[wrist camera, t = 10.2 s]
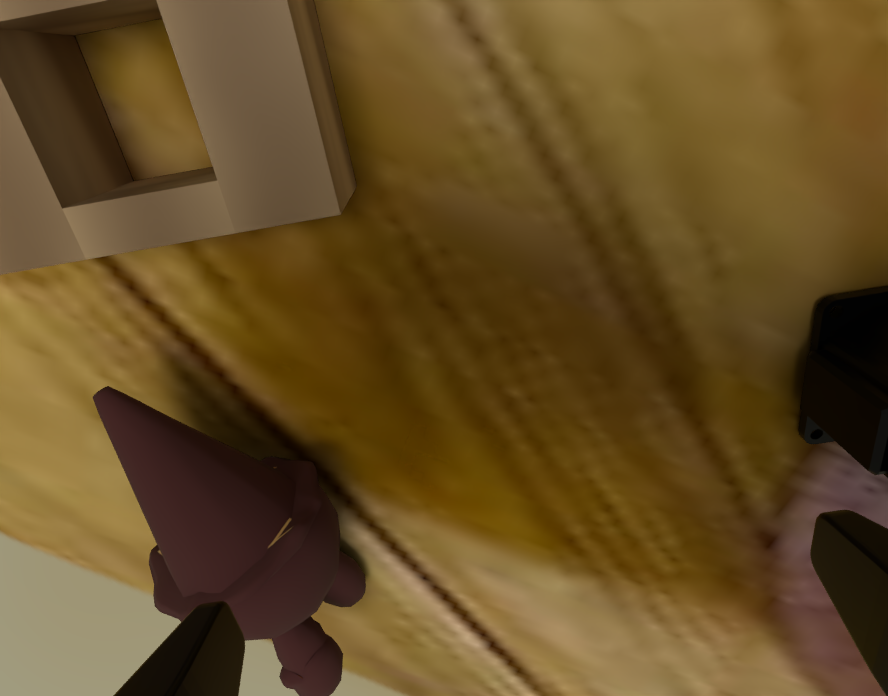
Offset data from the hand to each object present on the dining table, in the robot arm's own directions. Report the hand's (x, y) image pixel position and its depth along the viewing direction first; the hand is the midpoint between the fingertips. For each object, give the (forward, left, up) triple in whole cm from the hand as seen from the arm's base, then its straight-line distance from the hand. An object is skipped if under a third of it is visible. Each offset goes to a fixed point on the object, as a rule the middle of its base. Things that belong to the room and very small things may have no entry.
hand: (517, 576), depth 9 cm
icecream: (+10, +7, -13) cm, 18 cm away
